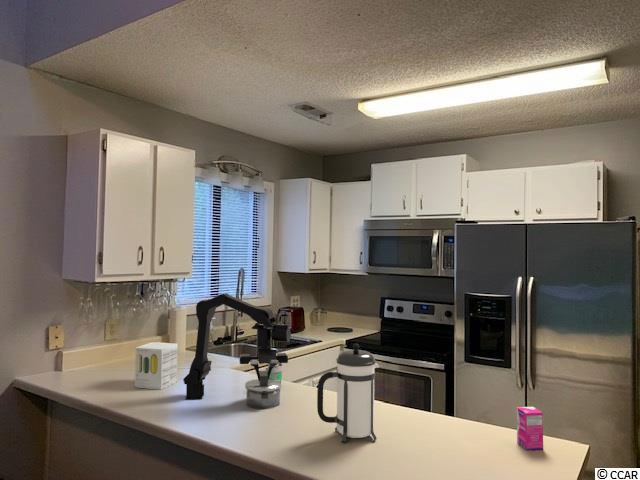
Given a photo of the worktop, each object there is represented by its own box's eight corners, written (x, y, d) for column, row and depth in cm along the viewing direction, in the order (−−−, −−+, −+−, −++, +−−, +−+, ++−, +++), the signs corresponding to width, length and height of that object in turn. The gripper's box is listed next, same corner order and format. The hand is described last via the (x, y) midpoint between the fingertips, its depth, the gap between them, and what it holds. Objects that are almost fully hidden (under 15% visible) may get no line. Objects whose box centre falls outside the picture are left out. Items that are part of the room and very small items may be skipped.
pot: (247, 411, 176) (247, 394, 176) (245, 397, 192) (245, 383, 192) (281, 409, 178) (282, 393, 179) (277, 396, 194) (277, 381, 195)
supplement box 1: (133, 387, 205) (134, 347, 205) (151, 379, 217) (152, 341, 218) (161, 390, 201) (162, 348, 202) (177, 381, 214) (178, 343, 215)
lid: (245, 392, 177) (246, 378, 177) (244, 382, 191) (244, 369, 191) (282, 391, 180) (283, 377, 180) (279, 381, 193) (279, 368, 194)
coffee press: (347, 423, 164) (348, 337, 165) (387, 435, 154) (387, 343, 155) (315, 438, 151) (316, 344, 152) (356, 452, 141) (357, 351, 142)
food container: (278, 392, 200) (279, 368, 200) (265, 391, 201) (265, 368, 201) (286, 384, 212) (287, 362, 212) (273, 383, 213) (273, 361, 213)
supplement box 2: (516, 443, 149) (516, 406, 150) (534, 442, 150) (533, 406, 150) (525, 450, 144) (525, 412, 144) (544, 450, 144) (544, 412, 144)
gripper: (240, 345, 176) (239, 387, 176) (290, 344, 180) (289, 385, 179) (239, 339, 187) (239, 379, 187) (286, 338, 191) (286, 377, 190)
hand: (263, 380), depth 185 cm, fingers closed on lid, 3 cm apart
